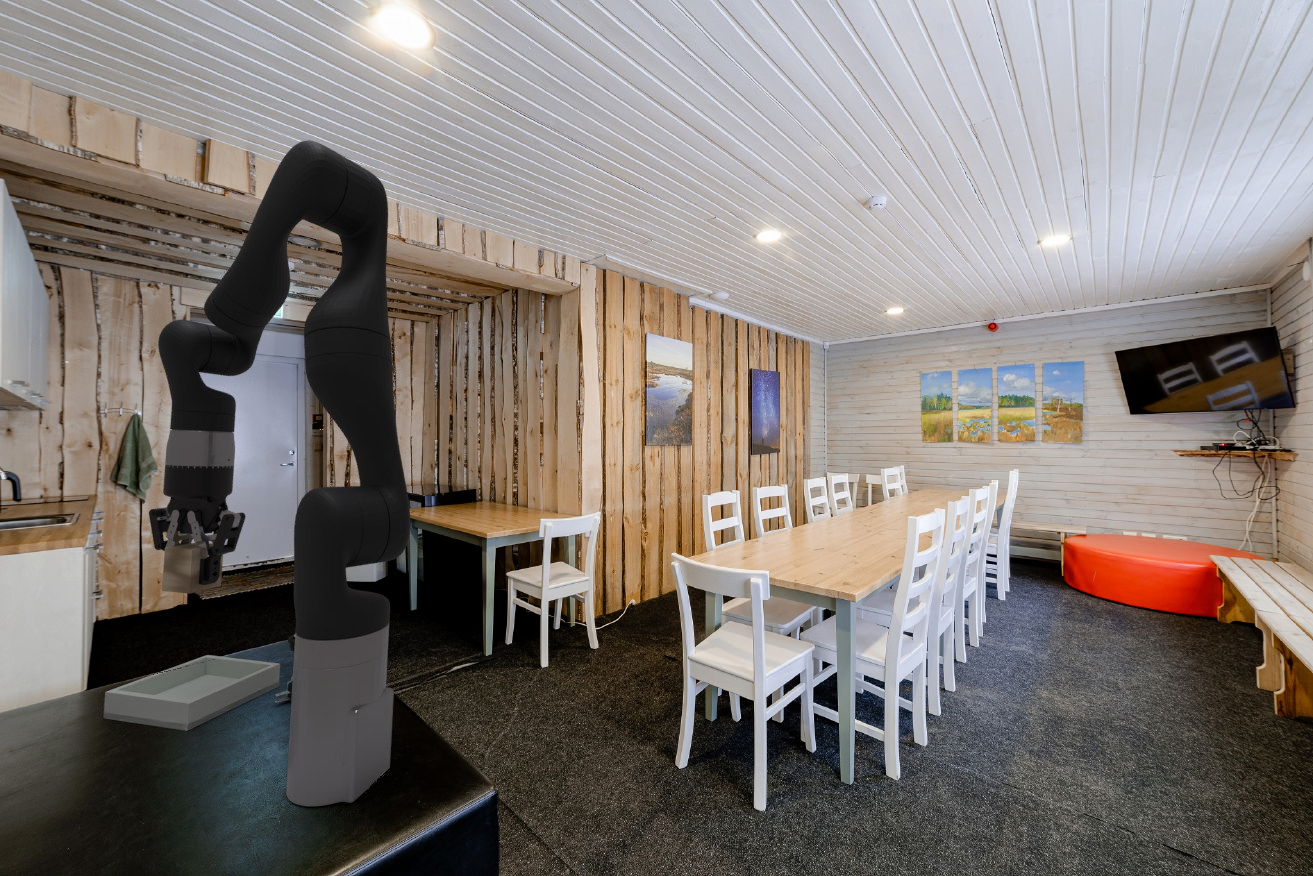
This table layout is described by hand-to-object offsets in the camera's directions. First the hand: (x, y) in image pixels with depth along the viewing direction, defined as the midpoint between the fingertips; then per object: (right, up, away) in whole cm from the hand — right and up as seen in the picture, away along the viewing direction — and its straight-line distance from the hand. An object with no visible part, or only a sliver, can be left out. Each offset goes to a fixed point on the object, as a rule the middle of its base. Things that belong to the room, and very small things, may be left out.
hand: (192, 581), depth 75 cm
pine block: (0, -1, 0) cm, 1 cm away
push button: (+13, -19, +3) cm, 23 cm away
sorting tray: (0, -18, +1) cm, 18 cm away
